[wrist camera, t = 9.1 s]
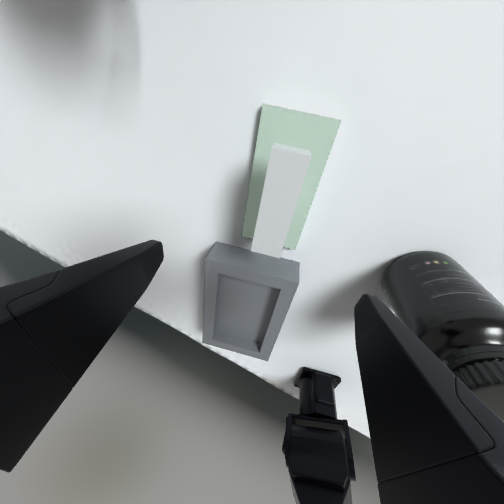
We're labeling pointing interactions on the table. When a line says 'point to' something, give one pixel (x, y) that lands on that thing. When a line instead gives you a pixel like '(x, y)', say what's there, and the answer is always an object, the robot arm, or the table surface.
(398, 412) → the robot arm
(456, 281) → the supplement bottle
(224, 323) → the case
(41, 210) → the table surface
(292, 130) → the cover
